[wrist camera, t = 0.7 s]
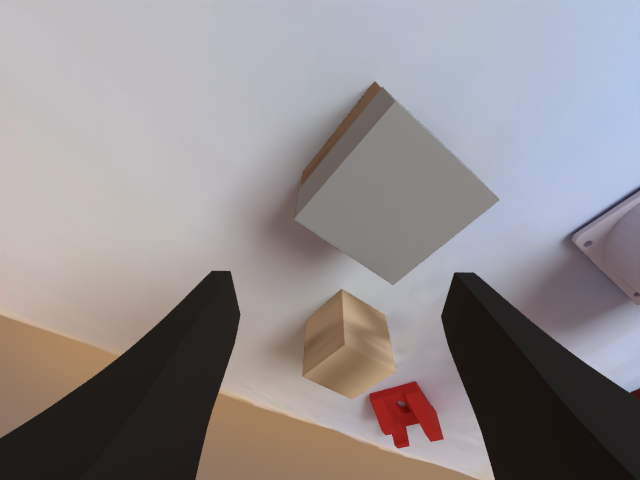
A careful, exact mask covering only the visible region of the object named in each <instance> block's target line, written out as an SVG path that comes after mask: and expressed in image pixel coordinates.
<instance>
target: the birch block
mask: <svg viewBox="0 0 640 480" xmlns="http://www.w3.org/2000/svg"><path fill="white" fill-rule="evenodd" d="M395 372H396V367H395V362H394V357H393V352H392V347H391V342H390V337H389V332H388V326H387V321H386V316H385V315H384V314H383V313H381V312H379V311H378V310H376V309H374V308H373V307H371V306H369V305H368V304H366V303H364V302H363V301H361V300H359V299H358V298H356V297H354V296H353V295H351V294H349V293H348V292H346V291H344V290H343V289H341V290H340V291H339V292H338V293H337V294H336V295H335V296H334V297H332V298H331V299H330V300H329V301H328V302H327V303H326V304H325V305H323V306H322V307H321V308H320V309H319V310H318V311H317V312H316V313H314V314H313V315H312V316H311V317H310V318H309V319H308V320H307V321H306V334H305V347H304V361H303V374H302V377H304V378H306V379H309V380H311V381H313V382H315V383H317V384H320V385H322V386H324V387H326V388H328V389H331V390H333V391H335V392H337V393H339V394H342V395H344V396H346V397H348V398H350V399H353V398H355V397H356V396H358V395H360V394H361V393H363V392H364V391H366V390H368V389H369V388H371V387H372V386H374V385H376V384H377V383H379V382H380V381H382V380H384V379H385V378H387V377H389V376H390V375H392V374H393V373H395Z"/></svg>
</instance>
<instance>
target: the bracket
mask: <svg viewBox="0 0 640 480" xmlns="http://www.w3.org/2000/svg"><path fill="white" fill-rule="evenodd" d="M370 401H371V403H372V406H373V409H374V411H375V414H376V417H377V419H378V422H379V424H380V427H381V430H382V432H383V433H384V434H385V435H390V434H392V436H393V440H394V445H395V446H396V447H397V448H403V447H408V446H409V440H408V435H407V430H406V426H409V425H414V424H418V423H420V425H421V427H422V429H423V431H424V432H425V434H426V436H427V437H428V438H429V440H430V441H431V442H432V441H437V440H442V439H443V435H442V431H441V428H440V424H439V420H438V417H437V413H436V411H435V409H434V408H433V406H431V405H430V403H429V402H428V400H427V399H426V397H425V396H424V394H423V393H422V391H421V389H420V387H419V386H418V384H417V383H416V381H415V382H412V383H408V384H404V385H401V386H397V387H393V388H389V389H386V390H382V391H378V392H375V393H371V394H370ZM397 401H403V402H404V403H405V404H406V405H407V406H406V407H402V406H400V405H399V404H398V403H397Z"/></svg>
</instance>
